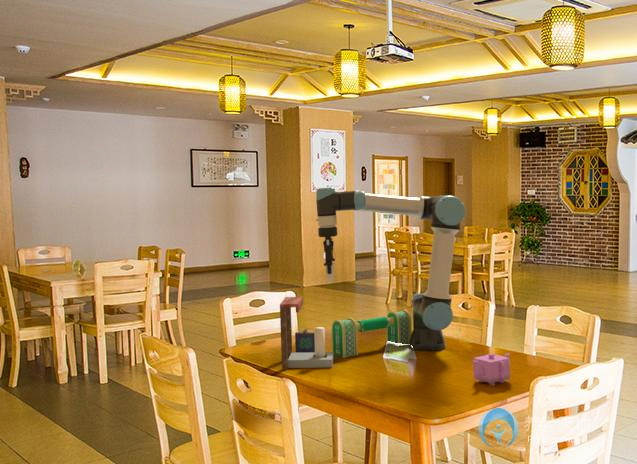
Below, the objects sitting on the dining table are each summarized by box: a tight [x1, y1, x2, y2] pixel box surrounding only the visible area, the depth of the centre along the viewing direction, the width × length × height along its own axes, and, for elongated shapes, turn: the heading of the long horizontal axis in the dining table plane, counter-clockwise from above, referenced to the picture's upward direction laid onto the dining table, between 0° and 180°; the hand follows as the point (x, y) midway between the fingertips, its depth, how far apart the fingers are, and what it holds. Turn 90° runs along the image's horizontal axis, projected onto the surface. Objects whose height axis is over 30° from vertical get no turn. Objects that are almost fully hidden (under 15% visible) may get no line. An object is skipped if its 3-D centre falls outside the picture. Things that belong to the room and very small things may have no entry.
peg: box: [313, 326, 326, 358], centre depth 264 cm, size 4×4×14 cm
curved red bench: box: [279, 296, 304, 371], centre depth 265 cm, size 7×18×25 cm, turn 176°
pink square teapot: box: [472, 353, 511, 386], centre depth 233 cm, size 18×13×10 cm
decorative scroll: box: [331, 309, 413, 359], centre depth 286 cm, size 36×8×15 cm, turn 122°
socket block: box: [288, 351, 335, 369], centre depth 265 cm, size 17×12×3 cm
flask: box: [294, 327, 315, 353], centre depth 282 cm, size 9×3×11 cm, turn 88°
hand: (330, 279), depth 268 cm, fingers open, 13 cm apart
